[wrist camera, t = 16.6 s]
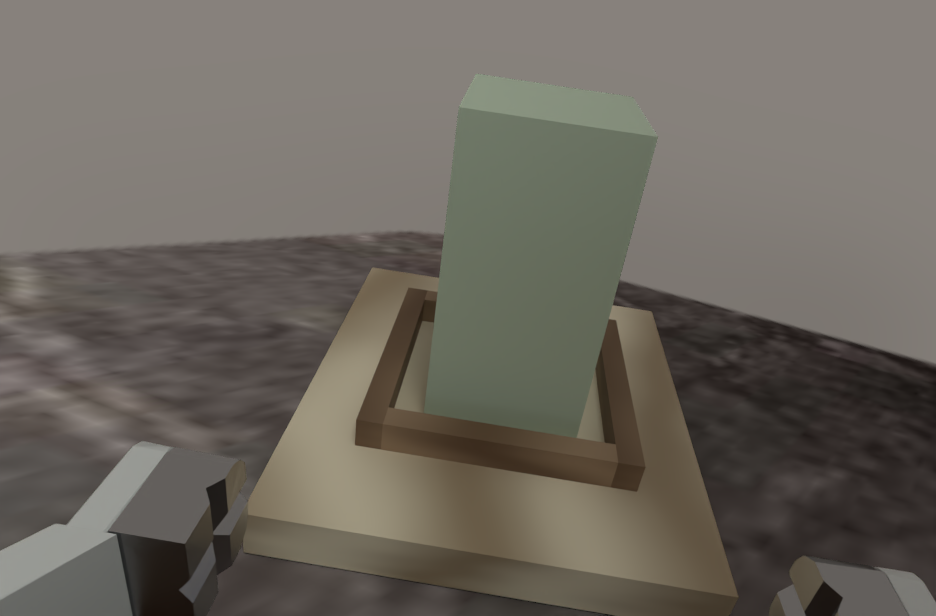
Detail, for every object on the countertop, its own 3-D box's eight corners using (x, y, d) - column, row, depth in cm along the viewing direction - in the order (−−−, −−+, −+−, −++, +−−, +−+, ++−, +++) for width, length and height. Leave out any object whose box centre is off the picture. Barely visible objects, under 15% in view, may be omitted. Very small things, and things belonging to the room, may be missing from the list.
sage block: (569, 358, 25) (632, 97, 20) (575, 442, 21) (658, 136, 16) (443, 337, 25) (476, 73, 20) (422, 418, 21) (458, 107, 16)
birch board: (643, 338, 30) (657, 292, 29) (720, 633, 17) (751, 571, 16) (370, 295, 31) (373, 247, 29) (243, 552, 18) (238, 485, 16)
